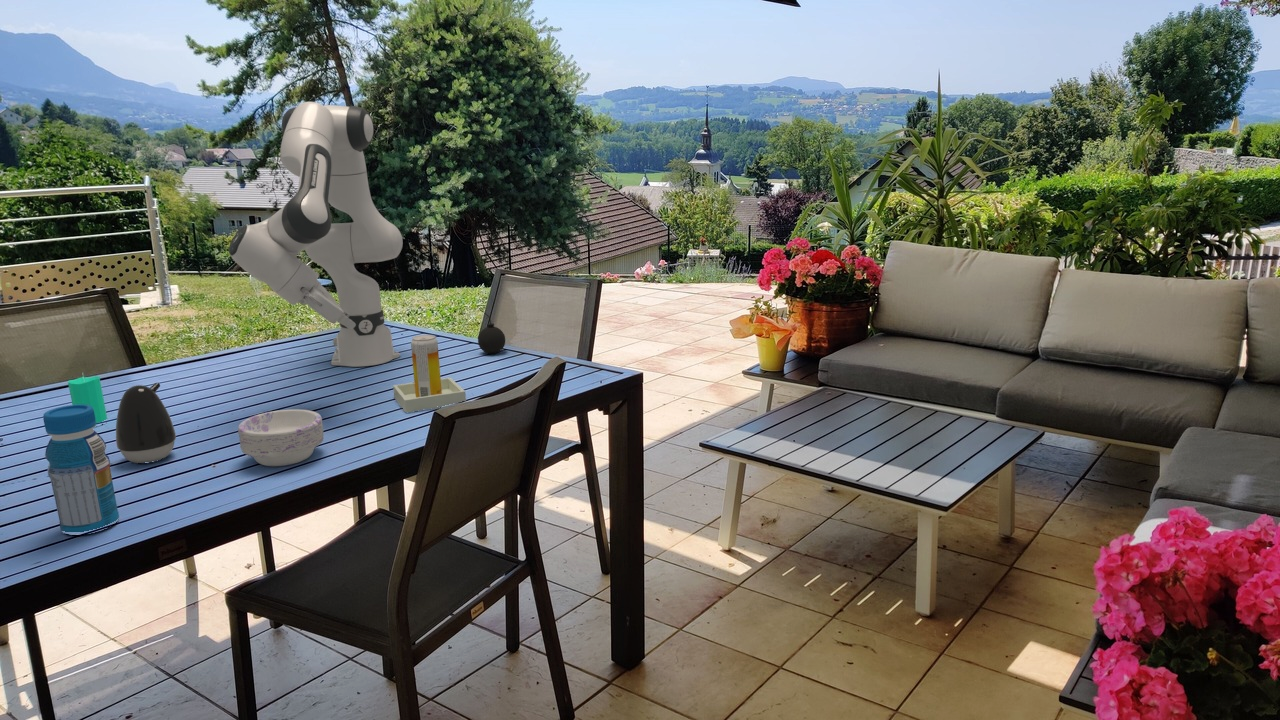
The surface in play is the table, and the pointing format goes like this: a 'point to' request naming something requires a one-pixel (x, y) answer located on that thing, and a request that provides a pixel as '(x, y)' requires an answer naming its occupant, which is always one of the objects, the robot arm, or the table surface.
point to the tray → (411, 403)
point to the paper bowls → (281, 436)
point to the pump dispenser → (144, 425)
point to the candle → (88, 395)
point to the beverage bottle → (79, 469)
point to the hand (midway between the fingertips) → (350, 322)
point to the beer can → (426, 365)
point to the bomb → (491, 339)
